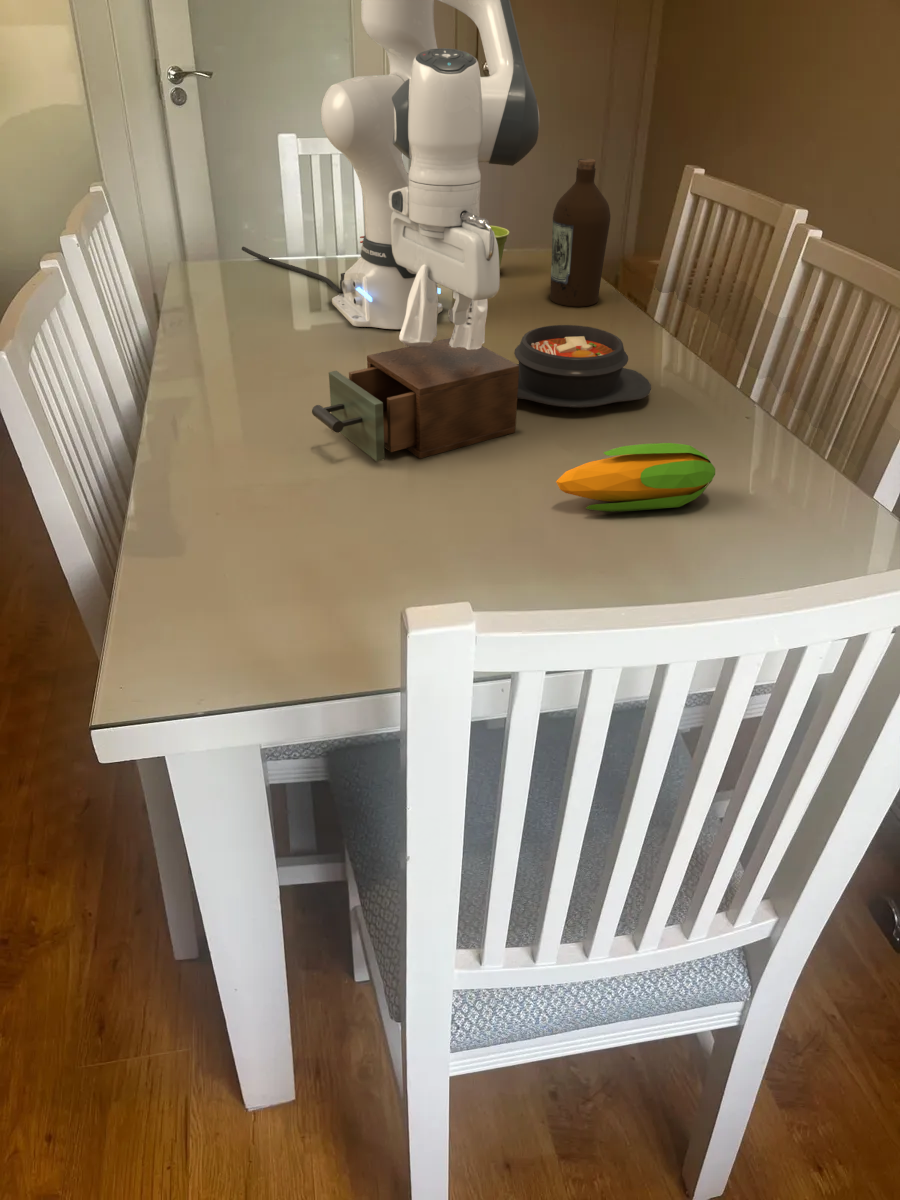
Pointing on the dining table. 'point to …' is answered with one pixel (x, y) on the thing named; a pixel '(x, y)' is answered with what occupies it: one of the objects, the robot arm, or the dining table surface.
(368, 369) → the drawer
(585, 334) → the casserole
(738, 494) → the dining table surface
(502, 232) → the plant pot
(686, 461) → the corn
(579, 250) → the olive oil
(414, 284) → the shaker set
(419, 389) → the cabinet
